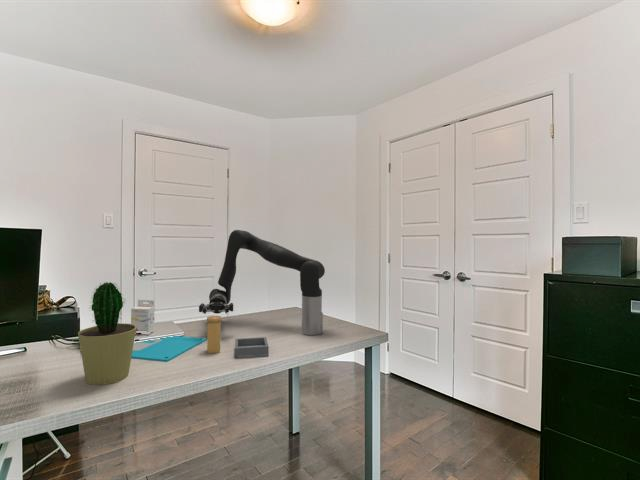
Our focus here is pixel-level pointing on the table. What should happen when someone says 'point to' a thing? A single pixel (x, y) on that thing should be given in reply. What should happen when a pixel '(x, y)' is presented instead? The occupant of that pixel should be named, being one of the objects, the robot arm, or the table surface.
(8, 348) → the table surface
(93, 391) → the table surface
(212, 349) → the tan capped post
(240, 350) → the housing
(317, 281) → the robot arm
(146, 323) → the ink cartridge box
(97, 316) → the potted cactus
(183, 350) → the teal flat board
